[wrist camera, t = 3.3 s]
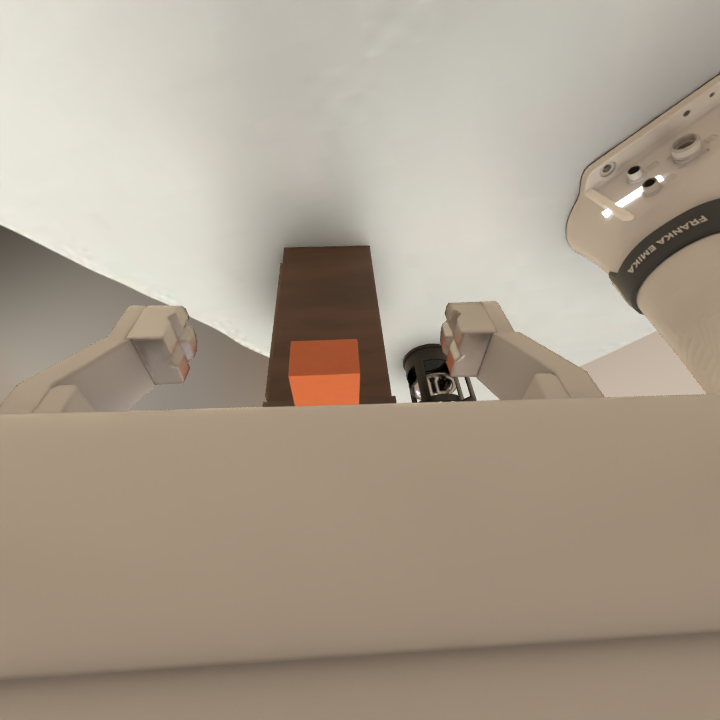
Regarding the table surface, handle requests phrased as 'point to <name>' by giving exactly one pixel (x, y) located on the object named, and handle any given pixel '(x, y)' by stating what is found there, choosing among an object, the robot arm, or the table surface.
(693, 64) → the table surface
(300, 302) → the cabinet
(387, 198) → the table surface
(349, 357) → the orange rectangular bar
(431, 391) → the french press
